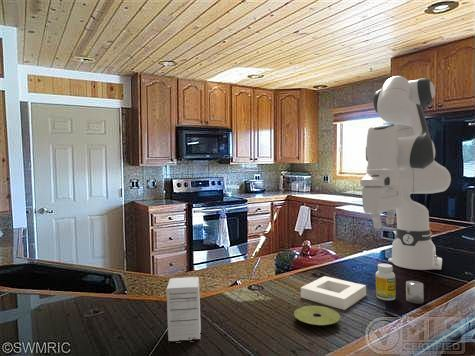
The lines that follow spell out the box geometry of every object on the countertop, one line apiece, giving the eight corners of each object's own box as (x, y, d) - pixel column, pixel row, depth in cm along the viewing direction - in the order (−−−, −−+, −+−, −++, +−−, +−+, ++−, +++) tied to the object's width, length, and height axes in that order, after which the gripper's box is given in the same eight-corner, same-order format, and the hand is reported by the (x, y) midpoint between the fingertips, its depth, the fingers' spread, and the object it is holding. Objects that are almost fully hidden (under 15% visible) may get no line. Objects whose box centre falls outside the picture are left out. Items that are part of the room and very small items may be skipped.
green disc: (286, 317, 86) (286, 309, 86) (322, 309, 90) (322, 302, 90) (310, 336, 75) (310, 328, 75) (350, 327, 79) (350, 319, 79)
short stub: (409, 296, 97) (408, 279, 97) (425, 300, 94) (425, 282, 94) (404, 300, 94) (403, 283, 94) (421, 304, 91) (420, 287, 91)
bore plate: (324, 285, 109) (324, 276, 109) (366, 295, 99) (366, 285, 99) (300, 297, 99) (300, 287, 99) (344, 310, 89) (344, 299, 89)
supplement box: (171, 328, 81) (169, 277, 81) (201, 326, 82) (199, 276, 82) (167, 343, 74) (165, 288, 74) (200, 341, 74) (198, 286, 74)
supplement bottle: (382, 292, 100) (382, 261, 100) (399, 298, 96) (398, 265, 96) (372, 296, 97) (371, 264, 97) (389, 302, 93) (388, 269, 93)
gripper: (385, 178, 106) (386, 221, 106) (357, 180, 91) (358, 229, 91) (406, 178, 101) (407, 222, 102) (380, 180, 87) (381, 232, 87)
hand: (384, 226), depth 96 cm, fingers open, 8 cm apart
